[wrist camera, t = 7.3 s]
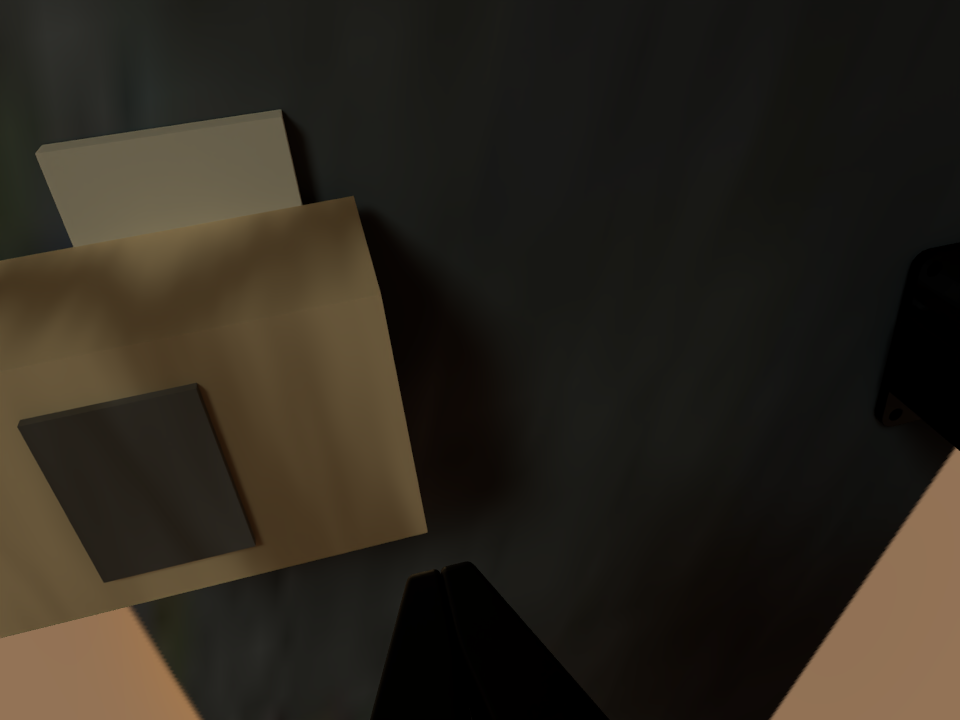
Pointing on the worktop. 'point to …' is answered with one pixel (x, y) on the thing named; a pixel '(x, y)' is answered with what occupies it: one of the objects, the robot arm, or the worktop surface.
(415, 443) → the worktop surface
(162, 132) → the mat
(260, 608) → the worktop surface
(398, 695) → the robot arm
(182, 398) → the wooden block
